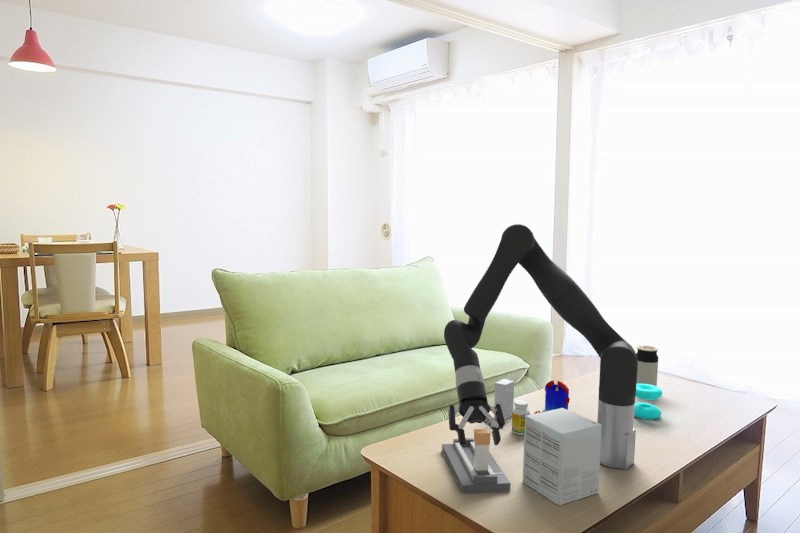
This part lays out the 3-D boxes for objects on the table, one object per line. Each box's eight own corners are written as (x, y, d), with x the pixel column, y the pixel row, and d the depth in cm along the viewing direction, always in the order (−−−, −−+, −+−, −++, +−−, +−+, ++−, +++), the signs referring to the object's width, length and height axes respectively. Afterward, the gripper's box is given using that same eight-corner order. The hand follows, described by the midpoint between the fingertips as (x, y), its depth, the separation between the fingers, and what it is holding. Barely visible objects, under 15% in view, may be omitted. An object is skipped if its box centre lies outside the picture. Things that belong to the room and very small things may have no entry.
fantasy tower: (531, 414, 186) (532, 379, 184) (550, 406, 193) (552, 373, 192) (561, 424, 177) (563, 388, 176) (581, 415, 185) (582, 381, 184)
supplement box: (560, 470, 144) (562, 406, 142) (599, 493, 133) (603, 424, 131) (521, 481, 138) (523, 414, 136) (559, 506, 126) (562, 433, 125)
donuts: (635, 390, 180) (626, 381, 190) (634, 420, 181) (624, 409, 191) (667, 392, 179) (656, 383, 189) (665, 421, 180) (654, 411, 190)
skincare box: (502, 412, 187) (503, 378, 185) (513, 415, 184) (514, 380, 183) (493, 417, 182) (494, 382, 181) (504, 420, 179) (506, 385, 178)
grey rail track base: (441, 450, 155) (442, 438, 155) (482, 449, 157) (483, 437, 156) (462, 493, 132) (462, 479, 131) (510, 490, 133) (510, 476, 133)
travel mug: (657, 392, 210) (660, 347, 208) (654, 398, 203) (657, 351, 202) (635, 389, 214) (637, 344, 212) (631, 394, 207) (634, 348, 206)
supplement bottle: (520, 427, 173) (521, 398, 172) (532, 433, 169) (533, 403, 168) (507, 431, 170) (508, 401, 169) (520, 437, 166) (521, 406, 165)
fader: (472, 470, 138) (474, 429, 137) (485, 470, 139) (487, 428, 138) (476, 476, 135) (477, 433, 134) (489, 475, 136) (490, 433, 135)
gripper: (447, 380, 144) (455, 440, 133) (499, 379, 146) (511, 438, 135) (442, 393, 149) (450, 451, 139) (492, 392, 151) (504, 449, 141)
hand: (480, 444), depth 137 cm, fingers open, 8 cm apart
